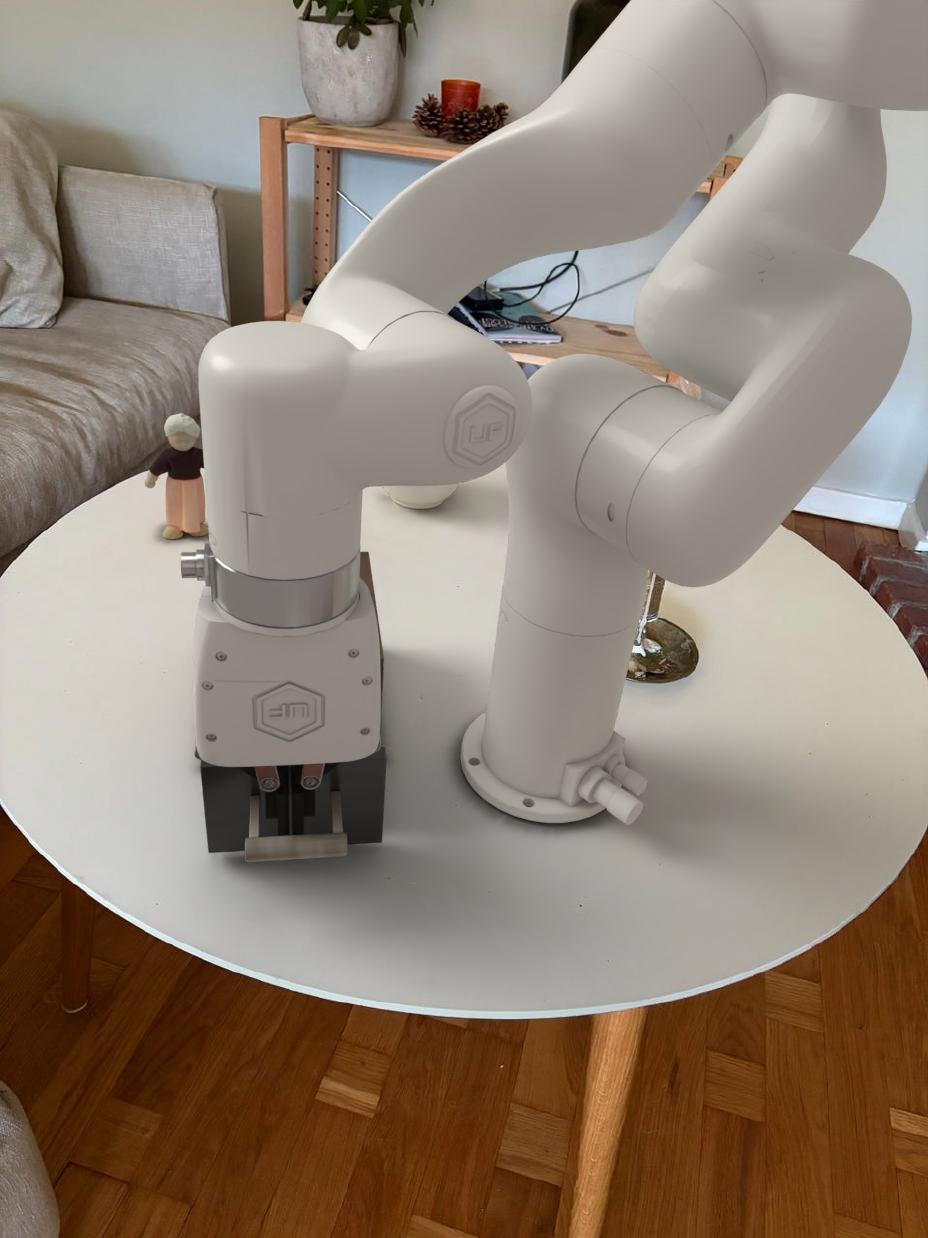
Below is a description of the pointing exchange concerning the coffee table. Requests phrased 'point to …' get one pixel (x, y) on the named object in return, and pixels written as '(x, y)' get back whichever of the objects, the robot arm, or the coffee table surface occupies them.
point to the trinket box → (420, 495)
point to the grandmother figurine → (181, 478)
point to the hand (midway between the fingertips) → (290, 820)
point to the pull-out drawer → (340, 819)
